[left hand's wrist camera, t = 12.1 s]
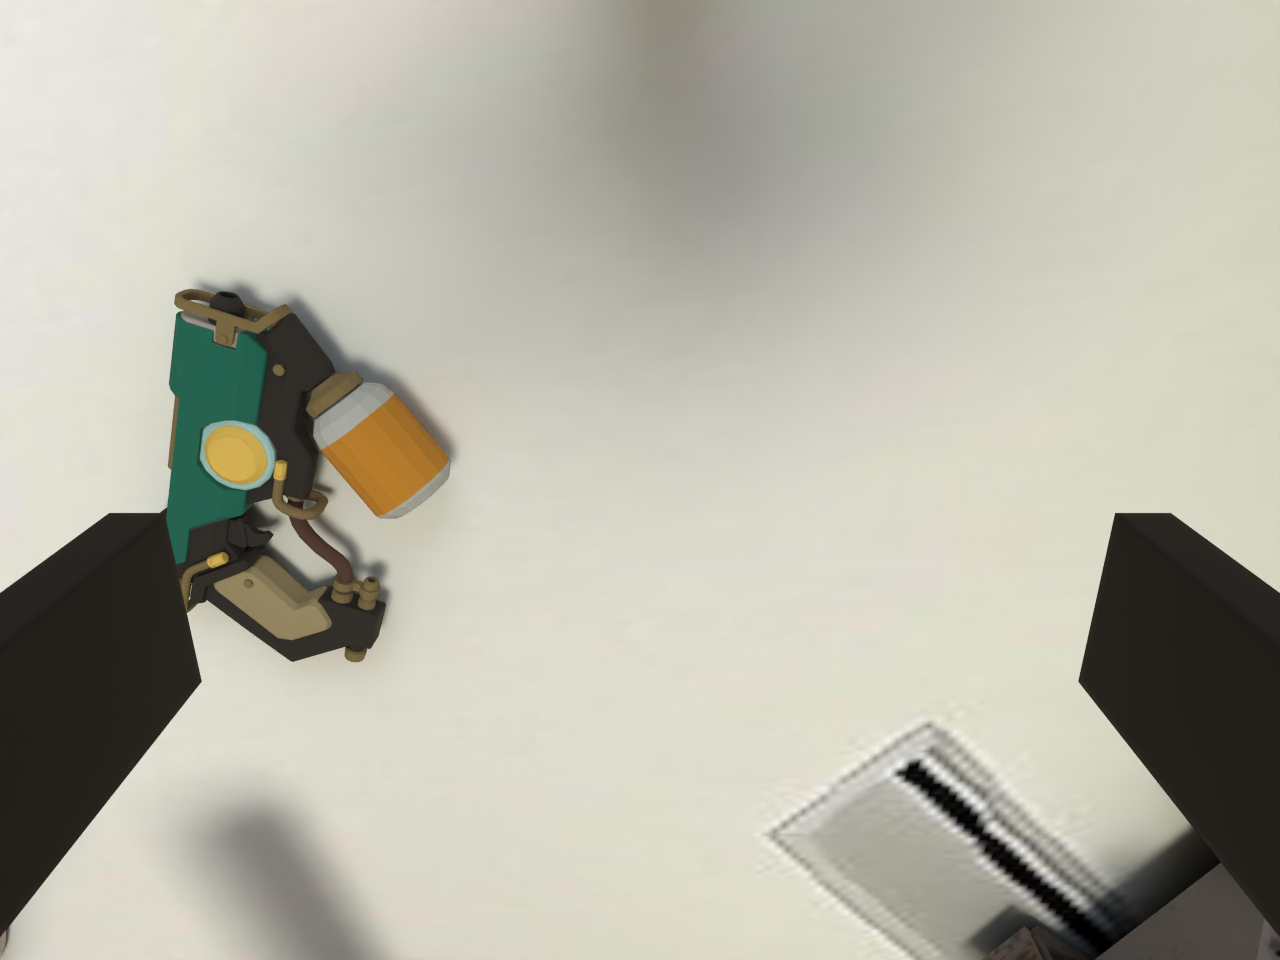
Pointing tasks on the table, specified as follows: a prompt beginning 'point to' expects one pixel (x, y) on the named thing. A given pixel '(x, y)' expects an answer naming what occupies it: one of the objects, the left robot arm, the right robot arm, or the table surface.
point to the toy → (1172, 930)
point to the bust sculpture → (2, 942)
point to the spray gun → (279, 470)
